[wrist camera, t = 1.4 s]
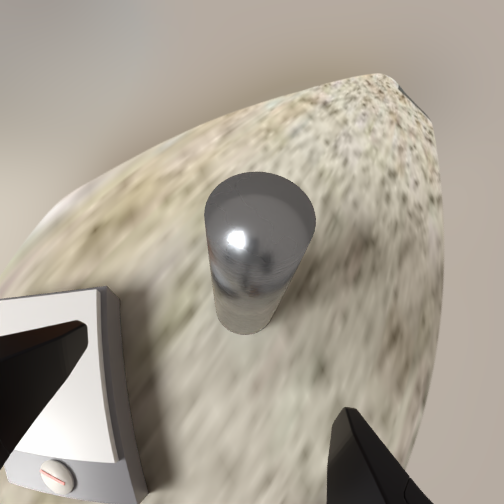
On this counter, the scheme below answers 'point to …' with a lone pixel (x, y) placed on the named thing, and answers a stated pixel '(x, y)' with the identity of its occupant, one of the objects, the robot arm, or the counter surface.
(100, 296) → the kitchen scale
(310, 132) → the counter surface
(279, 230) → the steel weight
